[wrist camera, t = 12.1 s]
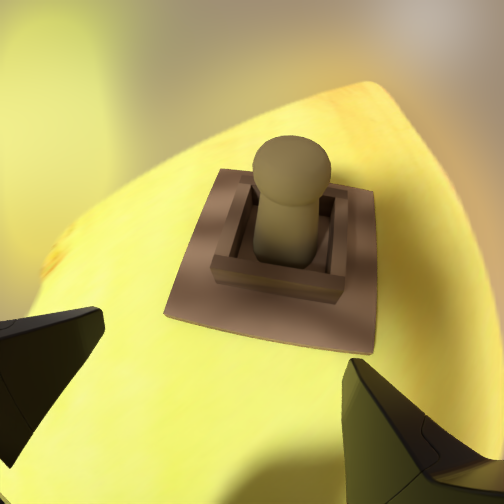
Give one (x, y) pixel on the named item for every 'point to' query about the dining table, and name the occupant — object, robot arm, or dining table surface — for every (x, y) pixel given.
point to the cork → (289, 200)
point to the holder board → (281, 272)
